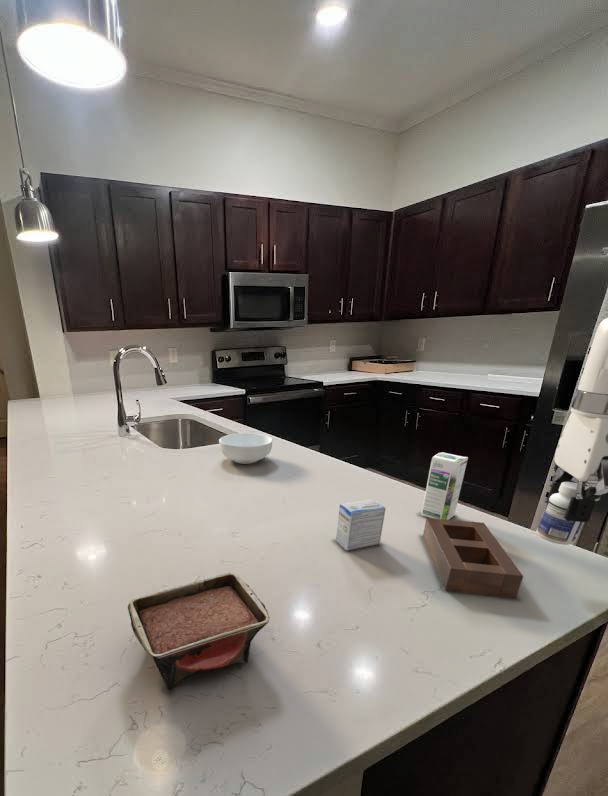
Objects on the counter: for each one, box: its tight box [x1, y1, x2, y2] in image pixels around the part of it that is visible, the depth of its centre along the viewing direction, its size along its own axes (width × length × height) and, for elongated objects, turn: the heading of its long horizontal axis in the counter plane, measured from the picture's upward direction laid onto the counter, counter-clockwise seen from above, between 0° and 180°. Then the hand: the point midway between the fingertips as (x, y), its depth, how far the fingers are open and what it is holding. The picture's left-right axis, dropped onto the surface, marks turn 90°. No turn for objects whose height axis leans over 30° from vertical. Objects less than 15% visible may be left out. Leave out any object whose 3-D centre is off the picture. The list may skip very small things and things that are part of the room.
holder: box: [422, 517, 524, 600], centre depth 78 cm, size 11×19×4 cm, turn 167°
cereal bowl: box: [218, 432, 273, 465], centre depth 134 cm, size 17×17×7 cm
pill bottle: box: [536, 482, 590, 546], centre depth 70 cm, size 5×5×10 cm
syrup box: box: [420, 451, 469, 520], centre depth 95 cm, size 6×6×14 cm
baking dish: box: [127, 572, 270, 691], centre depth 58 cm, size 14×18×10 cm
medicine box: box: [335, 498, 387, 551], centre depth 85 cm, size 8×4×9 cm, turn 108°
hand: (566, 511), depth 70 cm, fingers closed on pill bottle, 5 cm apart
